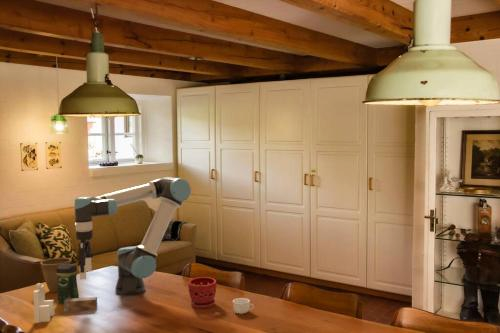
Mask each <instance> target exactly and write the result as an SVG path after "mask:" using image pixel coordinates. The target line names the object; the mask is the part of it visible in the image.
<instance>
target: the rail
mask: <svg viewBox="0 0 500 333" xmlns="http://www.w3.org/2000/svg"><path fill="white" fill-rule="evenodd" d="M63 309H64V313H70V312H71V313H72V312H74V313H75V312H87V311H88V312H89V311H97V309H98V297H97V296H92V297H79V298H72V299H70V298H66V299H65V300H64V303H63Z"/></svg>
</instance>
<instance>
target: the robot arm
mask: <svg viewBox="0 0 500 333" xmlns="http://www.w3.org/2000/svg"><path fill="white" fill-rule="evenodd" d="M191 187H192V186H190V183H189V181H188V180H186V179H185V178H182V177H176V176H175V177H174V176H164V177H160V178H157V179H154V180H150V181H147V183H146V184H142V185H138V186H134V187H130V188H125V189H122V190H117V191H114V192H110V193H105V194H103V195H102V194H101V195H98V196H81V197H76V198H74V219H75V223H74V224H73V225H74V226H75V239H76V240H78V241H79V240H80V243H78V258H77V259H78V260H77V264H76V266H77V267H79V269H78V271H79V280H87V272H92V271H93V267H92V258H94V254H93V252H92V245H91V239H93V238H94V237H93V236H94V232H93V228H94V227H93V217H100V216H103V217H104V216H110V215H111V216H112V215H115V214H117V213H118V207H120V206H124V205H130V204H133V203H137V202H140V201H143V200H144V201H145V200H147V199H152V200H154V199H160V203H159V205H158V207H157V209H156V212H155V213H154V216H153V218H152V220H151V222H150V224H149V226H148V228H147V231H146V233H145V235H144V237H143V239H142V241H141V243H140V244H138V245H135V246H133V245H131V246H126V247H120V248H119V249H117V255H116V256H117V271H118V277H117V281H116V285H115V294H117V295H120V296H121V295H122V296H129V295H130V296H131V295H138V294H140V293H143V292H145V290H146V284H145V282H144V279H147V278H150V277H151V276H152V275H153V274H154V273H155V271H156V269H157V261H156V260H157V258H158V252H157V250H158V248H159V246H160V244H161V242H162V240H163V238H164V236H165V233H166V231H167V229H168V227H169V225H170V222H171V221H172V219H173V216H174V214H175V212H176V210H177V209H178V208H181V206H182V203H183V202H185V201H186V200H188V199H189V198H190V196H191V191H192V188H191Z"/></svg>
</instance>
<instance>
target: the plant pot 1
mask: <svg viewBox="0 0 500 333" xmlns="http://www.w3.org/2000/svg"><path fill="white" fill-rule="evenodd" d="M71 261H72V259H71V258H69V257H57V258H56V257H55V258H49V259H44V260H42V261H40V268H41V271H42V276H43V278H44V281H45V284H46V286H47V288H48V291H49V292H50V293H53V294H54V293H55V294H56V293H58V278H57V275H56V270H57V266H58V265H61V264H71Z"/></svg>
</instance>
